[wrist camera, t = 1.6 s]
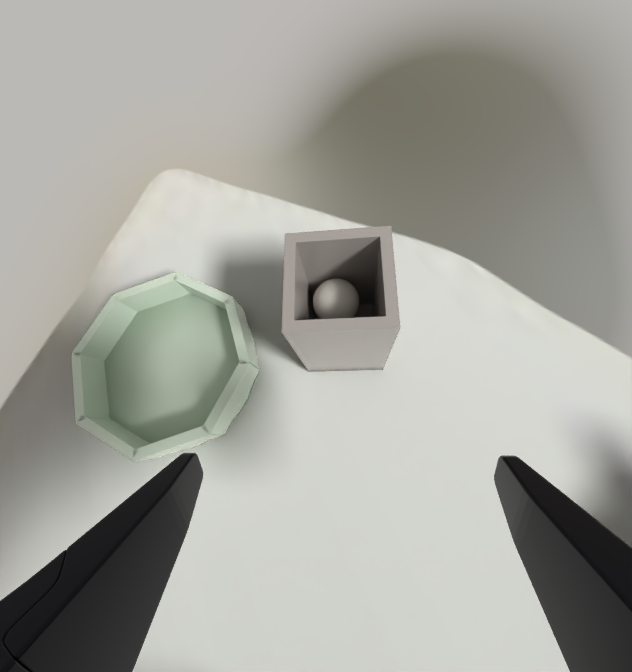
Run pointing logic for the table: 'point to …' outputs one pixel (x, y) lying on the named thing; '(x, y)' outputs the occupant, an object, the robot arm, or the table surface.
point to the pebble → (336, 299)
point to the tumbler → (370, 282)
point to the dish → (163, 367)
